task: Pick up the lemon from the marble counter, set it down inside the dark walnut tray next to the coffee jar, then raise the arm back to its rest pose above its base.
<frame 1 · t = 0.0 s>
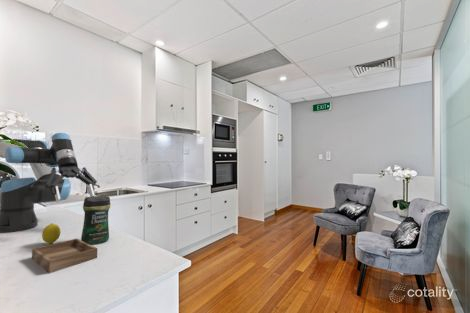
hand: (76, 198, 102), 15 cm above the counter, tool tilted 35°, fingers open, 13 cm apart
lemon: (50, 244, 87), on the counter
walnut tray: (64, 258, 75), on the counter
coffee jar: (95, 242, 91), on the counter
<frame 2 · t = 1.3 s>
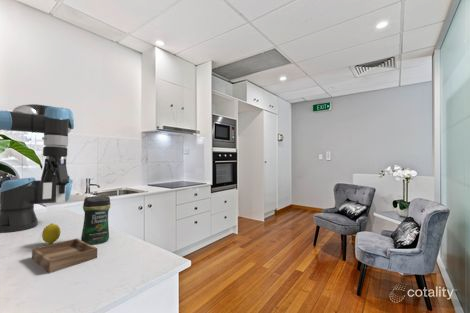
hand: (53, 200, 88), 17 cm above the counter, tool pointing down, fingers open, 13 cm apart
nothing on the counter moved.
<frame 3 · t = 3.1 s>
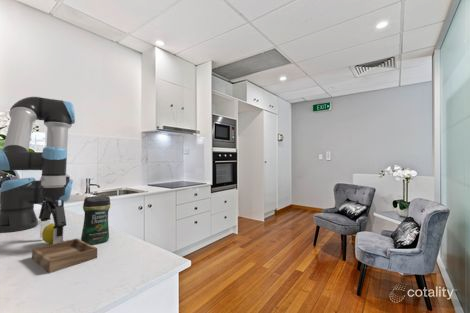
hand: (51, 240, 87), 1 cm above the counter, tool pointing down, fingers open, 13 cm apart
nothing on the counter moved.
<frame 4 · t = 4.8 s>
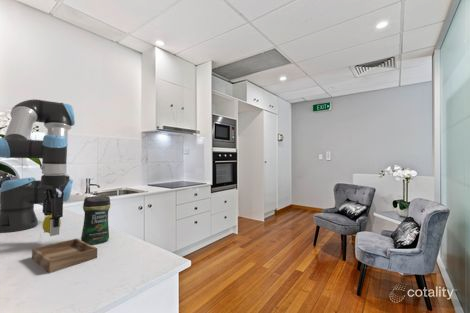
hand: (51, 233, 88), 4 cm above the counter, tool pointing down, fingers closed on lemon, 5 cm apart
lemon: (51, 234, 88), point 3 cm above the counter, touching gripper
everything else where it was.
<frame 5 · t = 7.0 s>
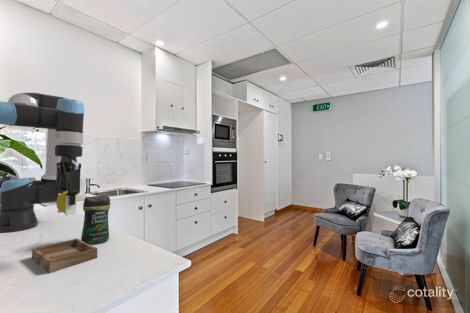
hand: (66, 213, 76), 15 cm above the counter, tool pointing down, fingers closed on lemon, 5 cm apart
lemon: (66, 214, 76), point 15 cm above the counter, touching gripper
everything else where it was.
when the fingers open (3 cm above the counter, at t = 9.6 s): lemon drops 1 cm, resting on walnut tray.
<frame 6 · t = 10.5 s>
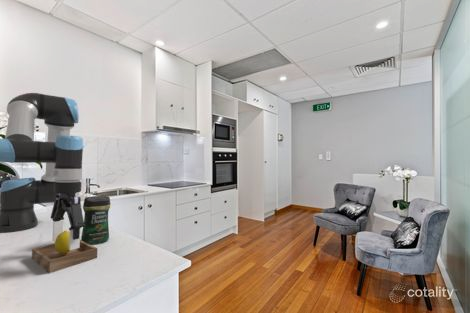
hand: (65, 244, 75), 5 cm above the counter, tool pointing down, fingers open, 13 cm apart
lemon: (65, 255, 75), point 1 cm above the counter, touching walnut tray
everything else where it was.
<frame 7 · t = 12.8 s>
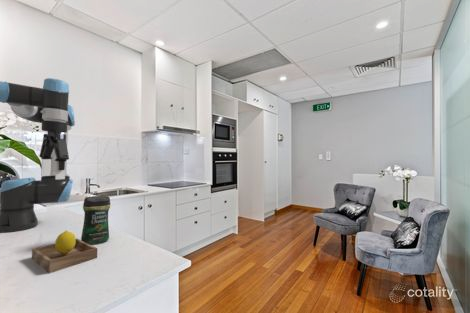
hand: (52, 177, 84), 26 cm above the counter, tool pointing down, fingers open, 13 cm apart
nothing on the counter moved.
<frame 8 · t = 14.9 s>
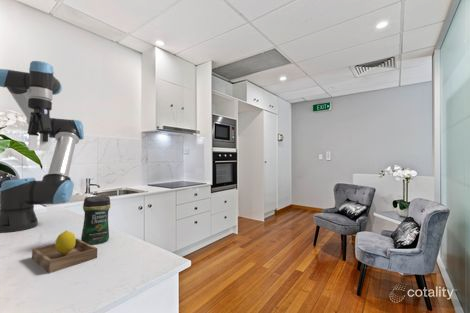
hand: (38, 150, 93), 37 cm above the counter, tool pointing down, fingers open, 13 cm apart
nothing on the counter moved.
at the end: lemon inside the target area on the walnut tray (0.1 cm from its centre), point 1.0 cm above the walnut tray's base; the gripper is holding nothing; coffee jar moved 0.2 cm from its start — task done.
